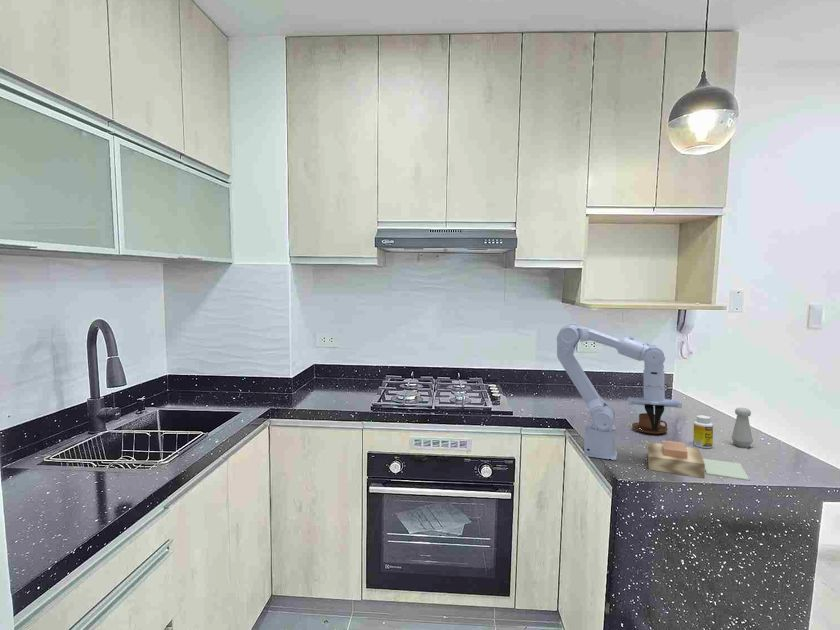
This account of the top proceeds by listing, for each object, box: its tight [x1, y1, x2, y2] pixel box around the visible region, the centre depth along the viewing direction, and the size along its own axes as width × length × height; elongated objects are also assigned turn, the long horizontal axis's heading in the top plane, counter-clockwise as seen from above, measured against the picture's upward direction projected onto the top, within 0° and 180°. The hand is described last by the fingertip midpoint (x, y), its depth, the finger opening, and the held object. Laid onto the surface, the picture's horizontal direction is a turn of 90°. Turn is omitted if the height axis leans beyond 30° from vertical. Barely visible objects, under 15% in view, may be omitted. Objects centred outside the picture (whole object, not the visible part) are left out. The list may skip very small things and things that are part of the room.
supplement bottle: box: [692, 414, 714, 449], centre depth 150 cm, size 6×6×10 cm
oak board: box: [647, 441, 706, 479], centre depth 133 cm, size 14×14×4 cm
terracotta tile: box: [661, 439, 687, 459], centre depth 133 cm, size 6×9×2 cm, turn 153°
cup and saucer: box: [631, 412, 669, 435], centre depth 167 cm, size 12×12×6 cm
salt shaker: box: [731, 407, 754, 449], centre depth 150 cm, size 6×6×13 cm
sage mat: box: [703, 458, 750, 481], centre depth 130 cm, size 10×13×1 cm
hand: (654, 429), depth 135 cm, fingers closed
